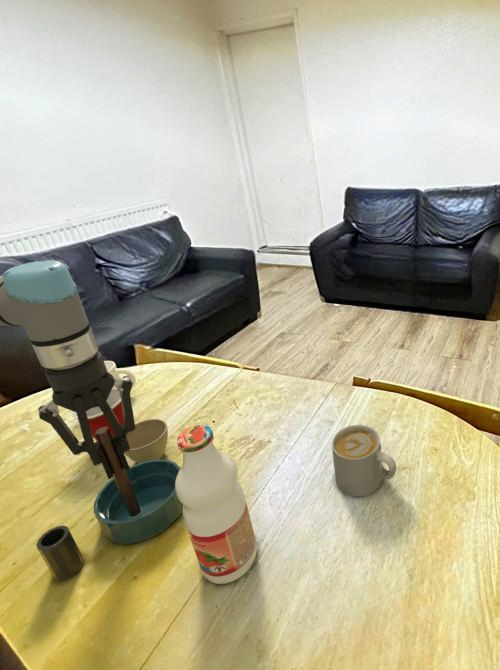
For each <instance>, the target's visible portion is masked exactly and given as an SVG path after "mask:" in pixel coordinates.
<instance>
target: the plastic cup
mask: <svg viewBox="0 0 500 670" xmlns="http://www.w3.org/2000/svg"><path fill="white" fill-rule="evenodd" d="M107 402H108V403H109V405H110V407H111V409H112V410H113V412H114V414H115V416H116V418H117V419H118V421H119V423H120V425H123V424H124V423H125V422H124V416H123V410H122V404H121V398H120V391H118V390H117V388H112V390H111V392H110V395H109V397H108V399H107ZM70 412H71V413H70V415H71V417H72V418H74V419H75V420H78V416H77V413H76V412H74V411H71V410H70ZM86 414H87V418H88V421H89V425H90V429H91V433H92V437H93V439H94V440H95V442H97V441H98V439H97V437H96V435H95V432H96V431H97V430H98V429H100V428H102V427H108V428H109V431H110V433H111V435H114V434H115V433H114V431H113V430H112V428H111V426H110V424H109V423H108V421H107V419H106V417H105V416H104V414H103V412H102V411H101V409H100V408H99V407H94V408H91V409H89V410H88V411H86ZM78 421H79V420H78Z"/></svg>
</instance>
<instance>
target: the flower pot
mask: <svg viewBox="0 0 500 670" xmlns="http://www.w3.org/2000/svg"><path fill="white" fill-rule="evenodd" d="M168 429H169V428H168V423H167V422H166V421H165V420H163V419H160V418H149V419H145V420H141V421H139V422H135V430H134V431H131V432H128V433H127V435H126V438H127V441H128V444H129V446H130V450H129V451H127V452H124V455H125V457H126V458H129V459H130V460H131V461H133V462H134V463H137V464H139V463H142V462H145V461H150V460H155V459H161V458H162V457H163V456H164V454H165V451H166V448H167V444H168V438H169V435H168V434H169V430H168Z"/></svg>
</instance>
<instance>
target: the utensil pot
mask: <svg viewBox="0 0 500 670" xmlns="http://www.w3.org/2000/svg"><path fill="white" fill-rule="evenodd" d="M35 546H36V548H37V550H38V552H39V554H40V556H41V558H42V559H43V561H44V563H45V565H46V566H47V568H48V570H49V572H50V573H51V575H52V576H53V578H54V580H56V581H58V582H62V581H66V580H69V579H71V578H73V577H74V576H76V575H77V574H78V573H79V572H80V571H81V570H82V568H83V567H84V565H85V558H84V555H83V553H82V551H81V550H80V548H79V546H78V544H77V542H76V540H75V538H74V536H73V534H72V532H71V531H70V528H69V526H66V525H56V526H55V527H52V528H50V529H48V530H47V531H46V532H44V533H43V534H42V535H41V536H40V537H39V538H38V539H37V542H36V545H35Z"/></svg>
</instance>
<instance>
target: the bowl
mask: <svg viewBox="0 0 500 670" xmlns="http://www.w3.org/2000/svg"><path fill="white" fill-rule="evenodd" d="M129 467H130V469H129V470H127V471H126V473H127V475H128V478H129V480H130V483H131V485H132V488H133V490H134V493H135V495H136V498H137V500H138V503H139V505H140V508H141V512H140V513H139V514H138V515H137V516H134V517H131V516H130V515H129V513H128V510H127V508H126V506H125V503H124V501H123V499H122V496H121V494H120V491H119V489H118V487H117V484H116V482H115V480H114V477H112V478H110V479H109V480H108V481H107V482H106V484H105V485H103V487H102V488H101V489H100V490H99V492H98V493H97V495H96V497H95V500H94V502H93V515H94V516H95V518H96V520H97V522H98V525H99V527H100V529H101V532H102V534H103V535H104V537H105V538H106V539H107V540H108V541H110V542H112V543H114V544H117V545H118V544H119V545H131V544H136V543H140V542H144V541H146V540H149V539H150V538H152V537H155V536H157V535H158V534H160V533H161V532H163V531H164V530H165V529H167V528H168V527H170V526H171V525H172V524H173V523H174V522H175V521H177V519H178V518H179V517H180V516H181V514H183V504H182V503H181V502H180V500H179V499H178V497H177V494H176V490H175V481H176V477H177V475H178V472H179V471H180V469H181V466H179V465H178V463H176V462H175V461H172V460H169V459H164V458H163V459H161V458H160V459H155V460H150V461H145V462H142V463H137V464H134V465H131V466H129Z"/></svg>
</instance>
